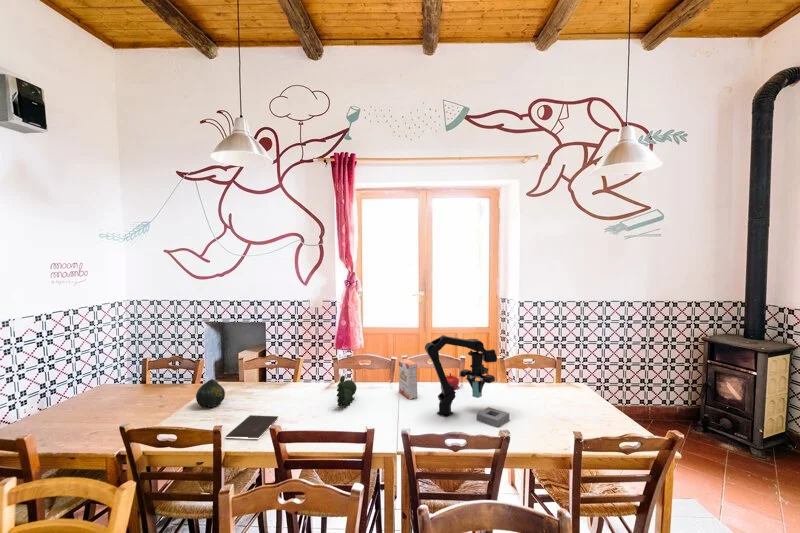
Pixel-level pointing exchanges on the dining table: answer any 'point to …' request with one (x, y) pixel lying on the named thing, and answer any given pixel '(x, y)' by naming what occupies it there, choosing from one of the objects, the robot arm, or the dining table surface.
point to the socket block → (492, 417)
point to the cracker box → (408, 378)
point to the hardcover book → (253, 426)
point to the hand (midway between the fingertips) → (477, 391)
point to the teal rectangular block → (476, 389)
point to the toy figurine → (345, 391)
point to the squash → (210, 394)
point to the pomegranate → (453, 380)
